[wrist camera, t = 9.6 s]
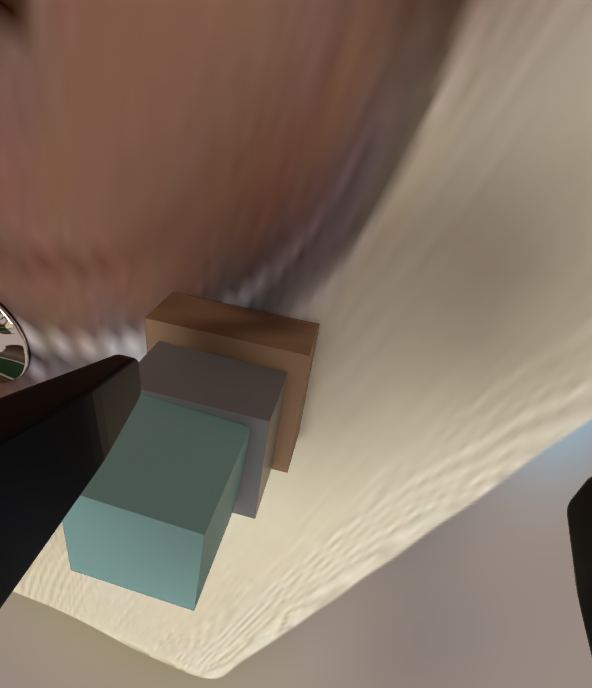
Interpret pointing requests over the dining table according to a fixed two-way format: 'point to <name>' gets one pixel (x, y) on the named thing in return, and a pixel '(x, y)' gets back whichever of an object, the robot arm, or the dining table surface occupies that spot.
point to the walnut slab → (244, 349)
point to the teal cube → (159, 502)
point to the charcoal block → (223, 403)
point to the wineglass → (11, 349)
